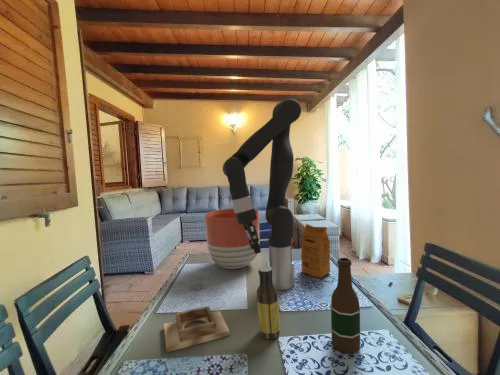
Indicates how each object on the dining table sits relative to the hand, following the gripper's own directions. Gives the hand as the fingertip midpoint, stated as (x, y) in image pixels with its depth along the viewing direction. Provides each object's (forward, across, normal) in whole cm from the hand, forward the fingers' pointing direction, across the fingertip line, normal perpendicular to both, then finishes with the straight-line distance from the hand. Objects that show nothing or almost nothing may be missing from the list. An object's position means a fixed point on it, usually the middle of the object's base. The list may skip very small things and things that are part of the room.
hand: (256, 250), depth 102 cm
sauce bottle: (+20, -21, +6) cm, 30 cm away
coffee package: (+22, +17, -26) cm, 38 cm away
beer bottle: (+25, -31, -13) cm, 42 cm away
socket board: (+14, -16, +26) cm, 34 cm away
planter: (+13, +36, +8) cm, 39 cm away
